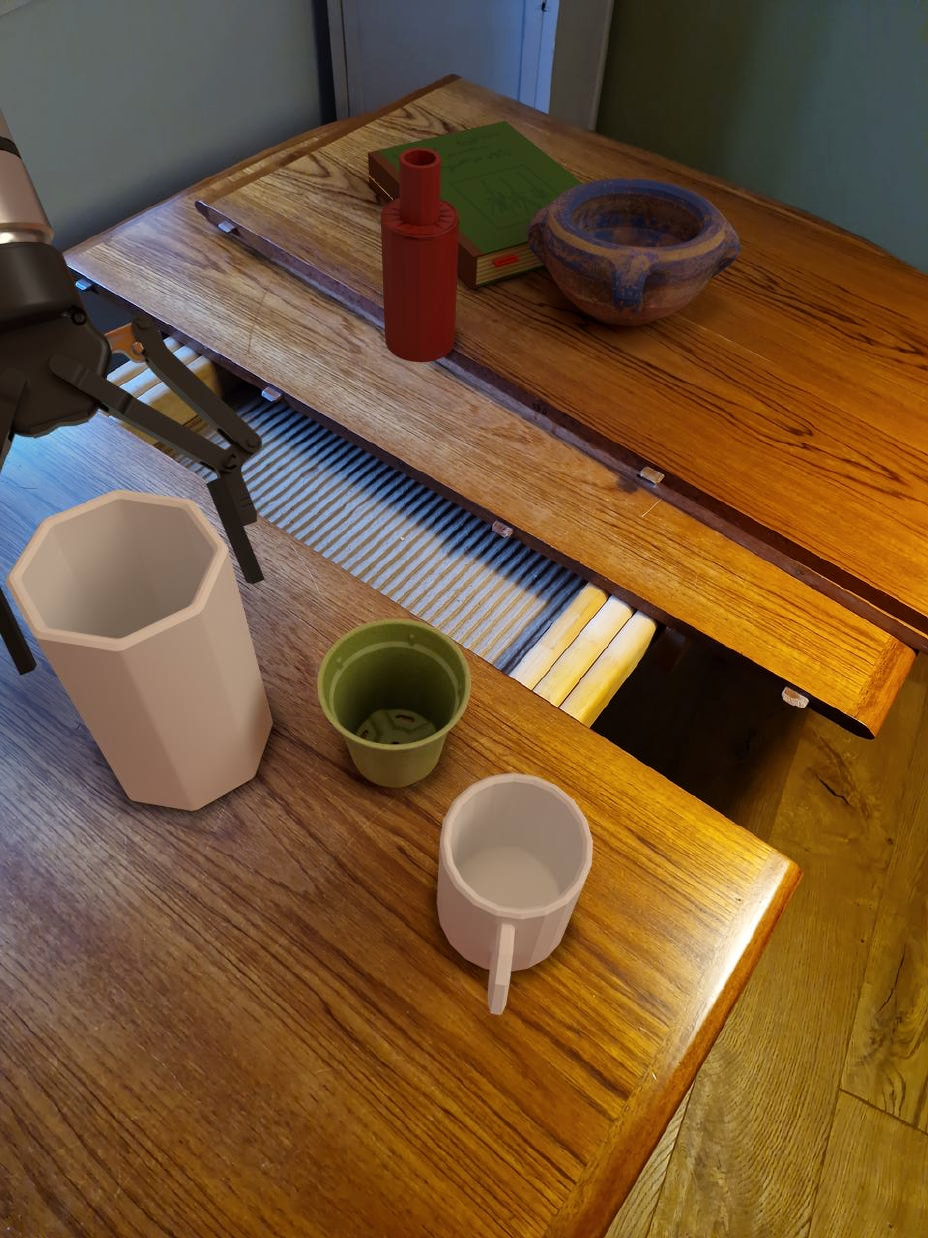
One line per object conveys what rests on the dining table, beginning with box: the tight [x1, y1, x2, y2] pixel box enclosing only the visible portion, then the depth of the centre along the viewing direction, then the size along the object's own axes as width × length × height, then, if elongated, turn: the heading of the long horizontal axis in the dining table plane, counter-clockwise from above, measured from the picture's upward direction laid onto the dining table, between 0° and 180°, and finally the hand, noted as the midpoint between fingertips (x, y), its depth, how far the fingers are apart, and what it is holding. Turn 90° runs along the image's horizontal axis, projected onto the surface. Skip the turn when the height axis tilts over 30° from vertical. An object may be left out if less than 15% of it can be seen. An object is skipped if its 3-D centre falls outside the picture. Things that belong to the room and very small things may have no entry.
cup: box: [5, 488, 274, 812], centre depth 54 cm, size 11×11×18 cm
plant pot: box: [316, 618, 472, 789], centre depth 58 cm, size 9×9×9 cm
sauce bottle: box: [380, 148, 459, 363], centre depth 82 cm, size 7×7×18 cm
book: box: [367, 120, 584, 290], centre depth 102 cm, size 25×19×4 cm
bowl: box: [527, 177, 742, 327], centre depth 90 cm, size 18×18×10 cm
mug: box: [436, 772, 594, 1016], centre depth 50 cm, size 8×12×10 cm
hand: (147, 624), depth 53 cm, fingers open, 13 cm apart
